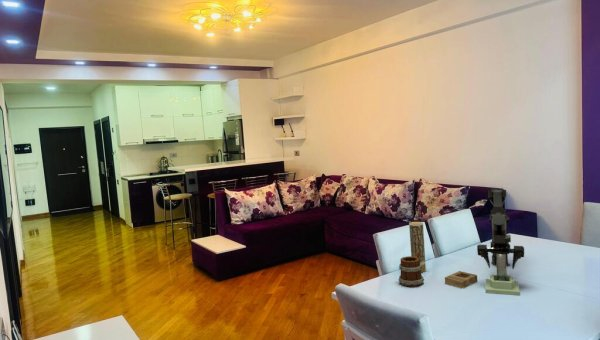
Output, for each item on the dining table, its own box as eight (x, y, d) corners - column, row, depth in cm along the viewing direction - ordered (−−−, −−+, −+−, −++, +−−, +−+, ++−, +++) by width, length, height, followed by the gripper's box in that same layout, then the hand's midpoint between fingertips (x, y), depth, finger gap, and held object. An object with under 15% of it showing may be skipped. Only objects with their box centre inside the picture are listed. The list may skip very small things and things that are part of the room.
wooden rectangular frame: (459, 277, 197) (459, 270, 197) (477, 281, 190) (477, 275, 190) (445, 283, 190) (444, 277, 190) (462, 288, 183) (462, 282, 183)
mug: (393, 284, 193) (393, 253, 194) (406, 280, 204) (407, 250, 205) (416, 289, 186) (416, 256, 187) (429, 284, 196) (429, 253, 197)
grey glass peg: (500, 282, 182) (499, 251, 181) (508, 285, 179) (508, 253, 178) (495, 284, 180) (494, 253, 179) (503, 287, 177) (502, 255, 175)
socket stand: (485, 282, 188) (485, 272, 188) (517, 284, 183) (517, 274, 182) (485, 292, 176) (485, 282, 176) (519, 295, 171) (519, 284, 171)
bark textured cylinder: (426, 273, 206) (423, 224, 204) (412, 273, 208) (409, 224, 206) (425, 268, 213) (422, 221, 211) (411, 268, 214) (408, 222, 212)
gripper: (476, 227, 185) (476, 258, 176) (523, 227, 177) (526, 260, 168) (477, 239, 193) (478, 270, 184) (522, 240, 185) (525, 272, 176)
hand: (501, 268), depth 178 cm, fingers open, 9 cm apart
